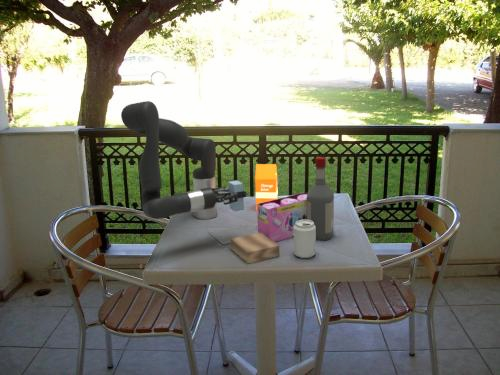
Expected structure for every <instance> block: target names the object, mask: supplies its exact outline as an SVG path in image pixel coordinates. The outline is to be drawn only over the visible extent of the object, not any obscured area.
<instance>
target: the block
mask: <svg viewBox="0 0 500 375" xmlns="http://www.w3.org/2000/svg"><path fill="white" fill-rule="evenodd" d="M227 182H228V184H227V186H228V188H229V192H230V193H235V192H242V191H244V184H243V182H240V181H239V180H231V181H227ZM233 198H234V197H233ZM244 202H245V201H244V197H243V198H238V201H237V202H233V203H230V204H228V205H229V209H231V210H232V211H234V212H238V211H240V212H241V211H244V210H245V203H244Z"/></svg>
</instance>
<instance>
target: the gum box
mask: <svg viewBox="0 0 500 375" xmlns="http://www.w3.org/2000/svg"><path fill="white" fill-rule="evenodd" d="M308 193H309V192H300V193H295V194H292V195H287V196H285V197H279V198H278V199H275V200H271V201H267V202H263V203H258V204H257V211H256V214H257V216H256V218H257V233H260V232H261V233H262V234H264V235H265V236H267V237H268V238H269V239H271V240H272V241H274V242H275V243H277V242H278V241H279V242H280V241H282V240H286V239H290V238H294V237H293V236H294V225H295V222H296V221H298V220H307V195H308Z"/></svg>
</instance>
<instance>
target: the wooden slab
mask: <svg viewBox="0 0 500 375" xmlns="http://www.w3.org/2000/svg"><path fill="white" fill-rule="evenodd" d="M230 250H231V251H233V252H234V254H236V255H237V256H238V255H239V256H238V257H240V258H241V259H242V260H243V261H244V260H245V261H244V262H245V263H247V265H249V264H252V263H257V262H261V261H264V259H266V260H268V258H270V259H273V258H272V257H274V258H277V257H276V256H278V257H280V244H278V243H277V242H274V241H272V240H271V239H269V238H268V237H267V236H265V235H264V234H262V233H261V232H260V233H258V232H256V233H253V234H250V235H246V236H241V237H237V238H232V239H231V243H230ZM260 260H261V261H260Z"/></svg>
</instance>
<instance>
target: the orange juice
mask: <svg viewBox="0 0 500 375" xmlns="http://www.w3.org/2000/svg"><path fill="white" fill-rule="evenodd" d="M277 170H278V168H277V164H276V163H273V164H272V163H265V164H263V163H259V164H257V163H256V164H255V177H254V178H255V179H254V180H255V205H256V206H255V208H256V209H255V210H256V212H257V204H258V203H263V202H267V201H271V200H275V199H279V198H278V196H279V194H278V192H279V191H278V186H279V185H278V171H277Z"/></svg>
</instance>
